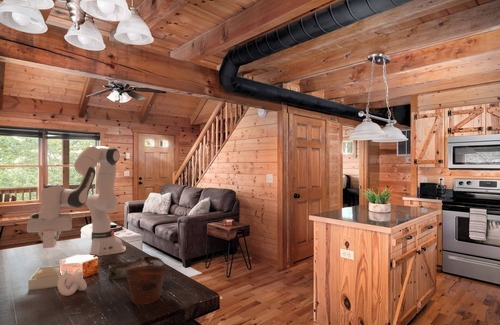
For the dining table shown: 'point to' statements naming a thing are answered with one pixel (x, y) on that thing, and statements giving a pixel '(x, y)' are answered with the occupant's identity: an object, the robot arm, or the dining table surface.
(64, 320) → the dining table surface
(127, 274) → the brown bucket
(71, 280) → the pretzel
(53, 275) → the beige rectangular block
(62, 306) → the dining table surface
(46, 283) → the tote
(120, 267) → the beverage carton
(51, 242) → the copper capped metal stub
